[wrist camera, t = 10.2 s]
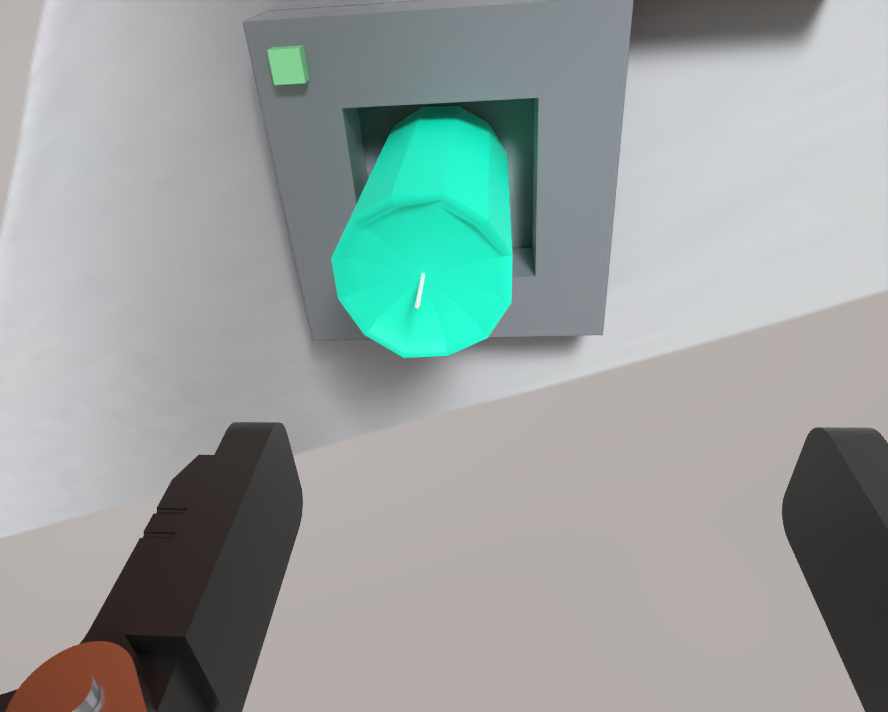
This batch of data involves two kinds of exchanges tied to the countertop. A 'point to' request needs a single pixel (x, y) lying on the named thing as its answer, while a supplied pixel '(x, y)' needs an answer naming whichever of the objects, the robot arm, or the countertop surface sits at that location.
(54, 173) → the countertop surface
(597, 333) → the frame
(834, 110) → the countertop surface
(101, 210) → the countertop surface
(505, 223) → the candle
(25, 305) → the countertop surface
